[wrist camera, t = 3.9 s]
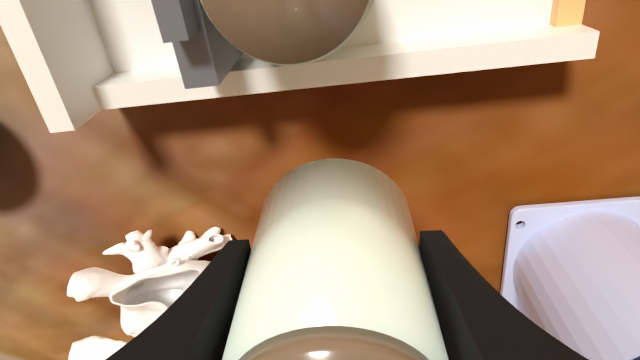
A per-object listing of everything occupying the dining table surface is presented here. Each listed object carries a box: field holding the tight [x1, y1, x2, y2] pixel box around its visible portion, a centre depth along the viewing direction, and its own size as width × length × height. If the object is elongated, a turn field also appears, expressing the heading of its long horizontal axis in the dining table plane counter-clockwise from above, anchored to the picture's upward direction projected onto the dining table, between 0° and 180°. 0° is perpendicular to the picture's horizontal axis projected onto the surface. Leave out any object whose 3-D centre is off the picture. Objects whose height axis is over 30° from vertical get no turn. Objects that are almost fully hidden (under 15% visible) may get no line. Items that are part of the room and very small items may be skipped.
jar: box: [222, 159, 449, 360], centre depth 12 cm, size 5×5×7 cm
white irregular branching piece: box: [67, 227, 232, 360], centre depth 25 cm, size 12×7×12 cm
